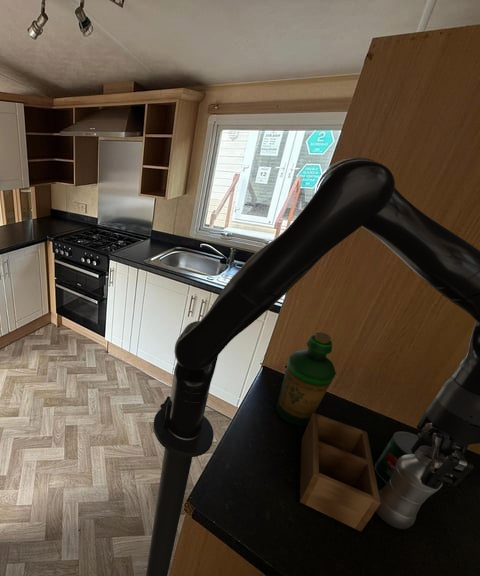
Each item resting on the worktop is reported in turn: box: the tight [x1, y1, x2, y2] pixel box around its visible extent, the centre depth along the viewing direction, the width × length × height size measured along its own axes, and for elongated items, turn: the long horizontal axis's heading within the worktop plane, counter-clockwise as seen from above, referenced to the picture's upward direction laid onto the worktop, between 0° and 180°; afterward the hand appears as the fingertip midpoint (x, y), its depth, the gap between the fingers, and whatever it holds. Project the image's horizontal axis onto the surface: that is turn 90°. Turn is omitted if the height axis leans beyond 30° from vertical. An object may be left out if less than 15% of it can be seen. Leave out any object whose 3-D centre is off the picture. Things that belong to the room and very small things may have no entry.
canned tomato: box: [374, 430, 418, 484], centre depth 72 cm, size 8×8×11 cm
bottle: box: [276, 332, 337, 427], centre depth 85 cm, size 11×11×28 cm
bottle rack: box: [299, 412, 381, 532], centre depth 72 cm, size 11×19×10 cm, turn 148°
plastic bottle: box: [375, 446, 446, 530], centre depth 63 cm, size 6×7×20 cm
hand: (422, 469), depth 60 cm, fingers open, 6 cm apart
